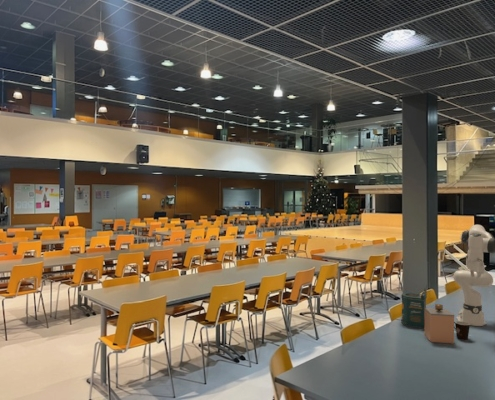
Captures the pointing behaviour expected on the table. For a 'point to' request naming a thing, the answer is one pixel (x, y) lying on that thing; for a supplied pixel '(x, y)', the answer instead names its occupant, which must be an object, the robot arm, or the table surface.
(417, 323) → the donation box
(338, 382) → the table surface
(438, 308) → the plunger
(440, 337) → the brown block
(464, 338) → the coffee mug
